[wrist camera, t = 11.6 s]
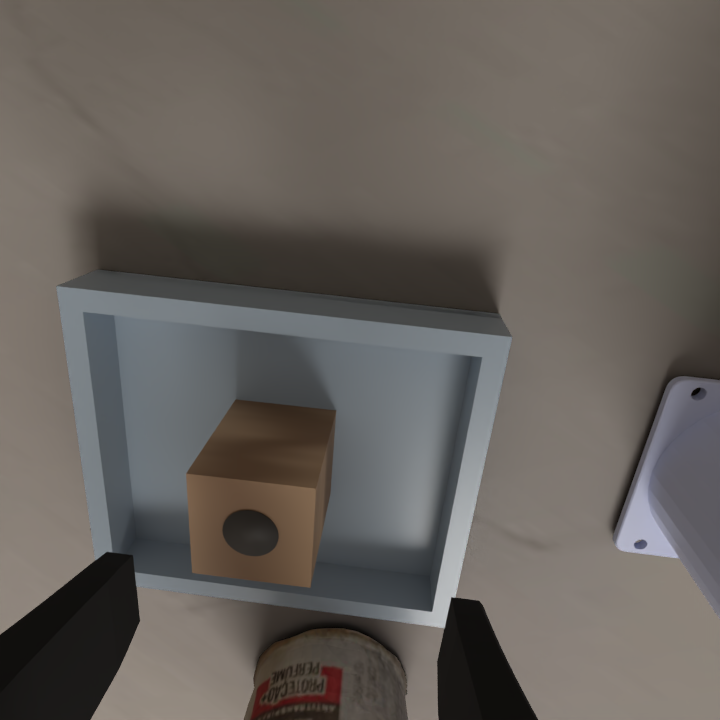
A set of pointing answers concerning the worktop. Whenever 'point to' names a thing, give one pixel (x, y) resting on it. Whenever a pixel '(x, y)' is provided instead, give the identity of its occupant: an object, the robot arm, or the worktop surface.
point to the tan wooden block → (262, 493)
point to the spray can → (328, 679)
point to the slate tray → (297, 388)
